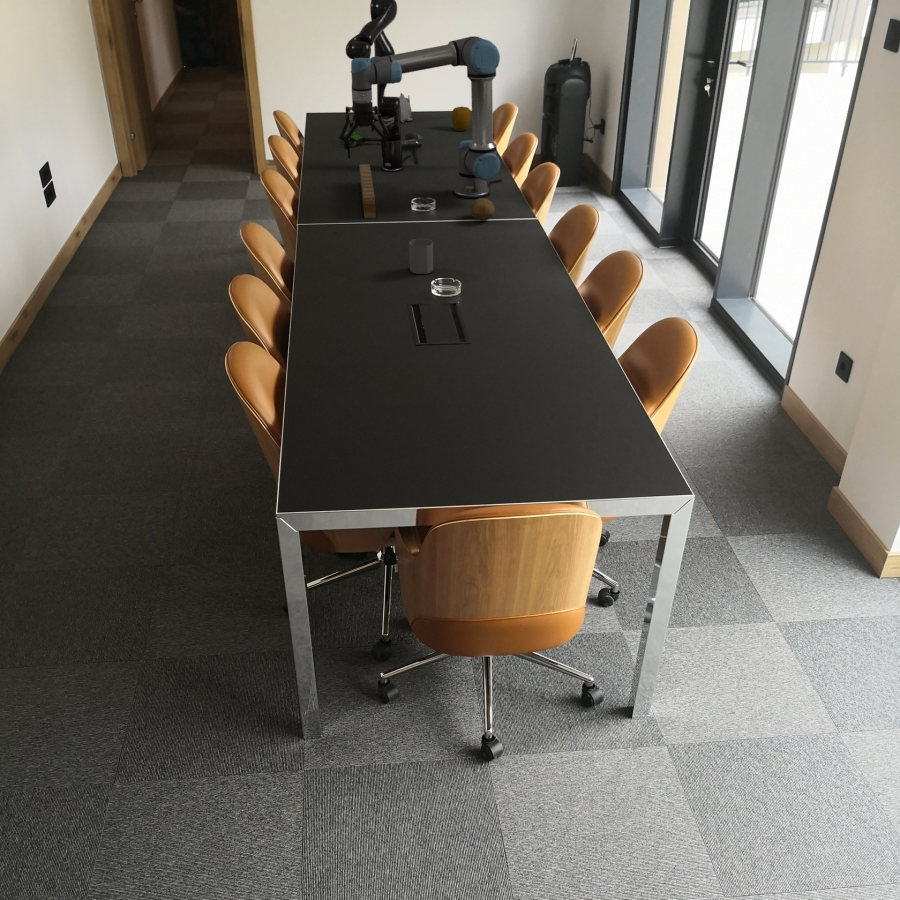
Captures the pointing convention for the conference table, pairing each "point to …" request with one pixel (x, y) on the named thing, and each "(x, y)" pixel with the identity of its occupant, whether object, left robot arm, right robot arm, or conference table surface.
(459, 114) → the apple
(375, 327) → the conference table surface
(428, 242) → the cup
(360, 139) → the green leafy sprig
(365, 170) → the post
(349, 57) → the left robot arm
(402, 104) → the toy
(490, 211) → the potato
